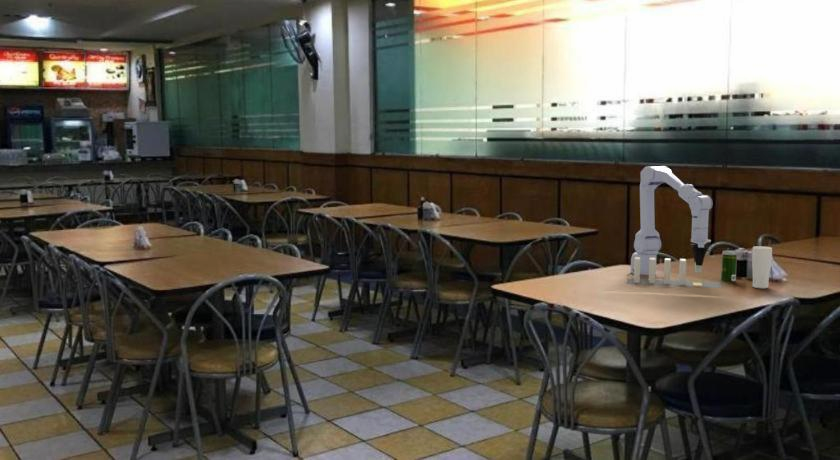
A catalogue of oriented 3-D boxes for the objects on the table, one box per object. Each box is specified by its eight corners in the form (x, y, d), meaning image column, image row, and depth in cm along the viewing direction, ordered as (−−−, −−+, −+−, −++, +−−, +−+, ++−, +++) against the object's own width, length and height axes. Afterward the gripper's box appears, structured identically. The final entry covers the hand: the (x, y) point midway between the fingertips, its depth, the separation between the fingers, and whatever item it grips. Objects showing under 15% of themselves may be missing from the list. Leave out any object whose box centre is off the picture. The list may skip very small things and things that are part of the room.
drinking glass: (749, 288, 301) (751, 248, 300) (751, 285, 307) (753, 245, 306) (769, 289, 298) (771, 249, 296) (771, 286, 304) (773, 246, 302)
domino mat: (627, 285, 306) (627, 283, 306) (626, 280, 316) (626, 278, 316) (721, 290, 298) (721, 287, 298) (718, 284, 308) (718, 282, 308)
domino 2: (649, 283, 307) (650, 259, 306) (648, 280, 311) (649, 257, 310) (654, 283, 306) (655, 259, 305) (654, 281, 311) (654, 257, 310)
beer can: (738, 282, 313) (739, 251, 311) (730, 284, 309) (732, 252, 308) (725, 280, 317) (726, 249, 315) (717, 282, 314) (719, 251, 312)
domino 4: (679, 284, 304) (680, 260, 303) (678, 282, 309) (679, 258, 308) (685, 284, 304) (686, 260, 303) (684, 282, 308) (685, 258, 307)
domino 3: (664, 283, 305) (665, 260, 304) (663, 281, 310) (664, 258, 309) (669, 284, 305) (670, 260, 304) (669, 281, 310) (670, 258, 308)
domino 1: (634, 282, 308) (634, 258, 307) (633, 280, 313) (634, 257, 311) (639, 282, 307) (640, 259, 306) (639, 280, 312) (640, 257, 311)
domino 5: (695, 272, 302) (696, 248, 301) (694, 270, 307) (695, 247, 306) (701, 273, 302) (702, 249, 301) (700, 271, 306) (701, 247, 305)
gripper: (713, 230, 294) (711, 267, 296) (709, 226, 308) (707, 261, 310) (693, 230, 296) (691, 267, 298) (689, 225, 310) (688, 260, 312)
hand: (698, 264), depth 304 cm, fingers closed on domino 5, 5 cm apart
